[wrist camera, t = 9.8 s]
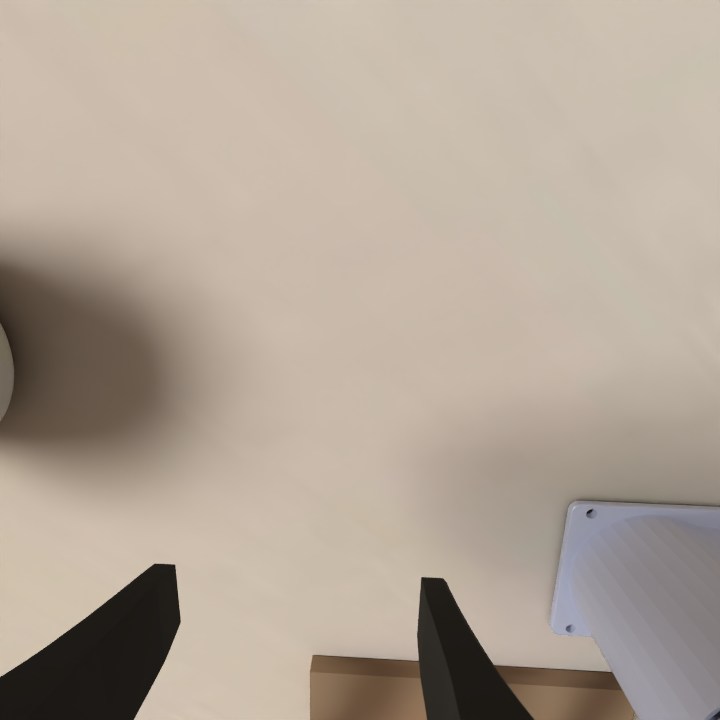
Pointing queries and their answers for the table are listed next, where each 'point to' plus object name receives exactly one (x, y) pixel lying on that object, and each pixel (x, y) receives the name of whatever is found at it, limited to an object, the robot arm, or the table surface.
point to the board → (406, 702)
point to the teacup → (5, 373)
